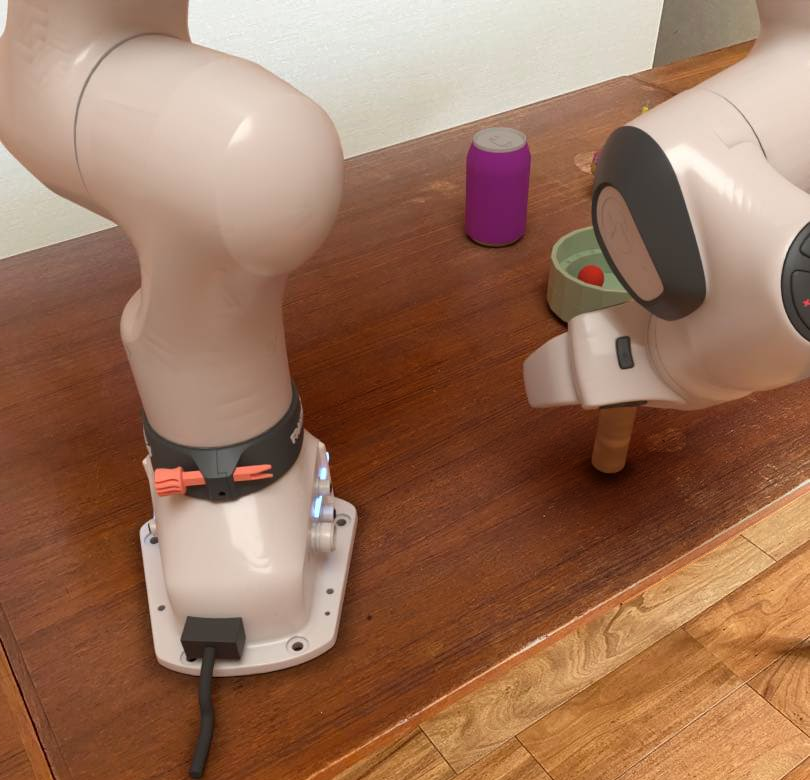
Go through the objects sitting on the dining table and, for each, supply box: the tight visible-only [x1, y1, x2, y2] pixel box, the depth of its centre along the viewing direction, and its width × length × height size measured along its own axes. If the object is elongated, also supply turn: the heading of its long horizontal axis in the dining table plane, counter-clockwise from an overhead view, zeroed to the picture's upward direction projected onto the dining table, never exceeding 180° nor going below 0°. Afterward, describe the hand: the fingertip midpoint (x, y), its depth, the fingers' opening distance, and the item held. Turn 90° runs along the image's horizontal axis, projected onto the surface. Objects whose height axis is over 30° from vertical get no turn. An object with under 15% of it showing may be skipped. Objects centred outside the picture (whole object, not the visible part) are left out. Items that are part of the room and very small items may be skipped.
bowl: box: [546, 225, 633, 324], centre depth 96 cm, size 14×14×6 cm
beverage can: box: [464, 126, 532, 248], centre depth 105 cm, size 8×8×12 cm
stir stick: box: [591, 299, 638, 474], centre depth 74 cm, size 3×3×16 cm
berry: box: [577, 265, 604, 287], centre depth 97 cm, size 3×3×3 cm
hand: (620, 377), depth 73 cm, fingers closed on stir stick, 3 cm apart
